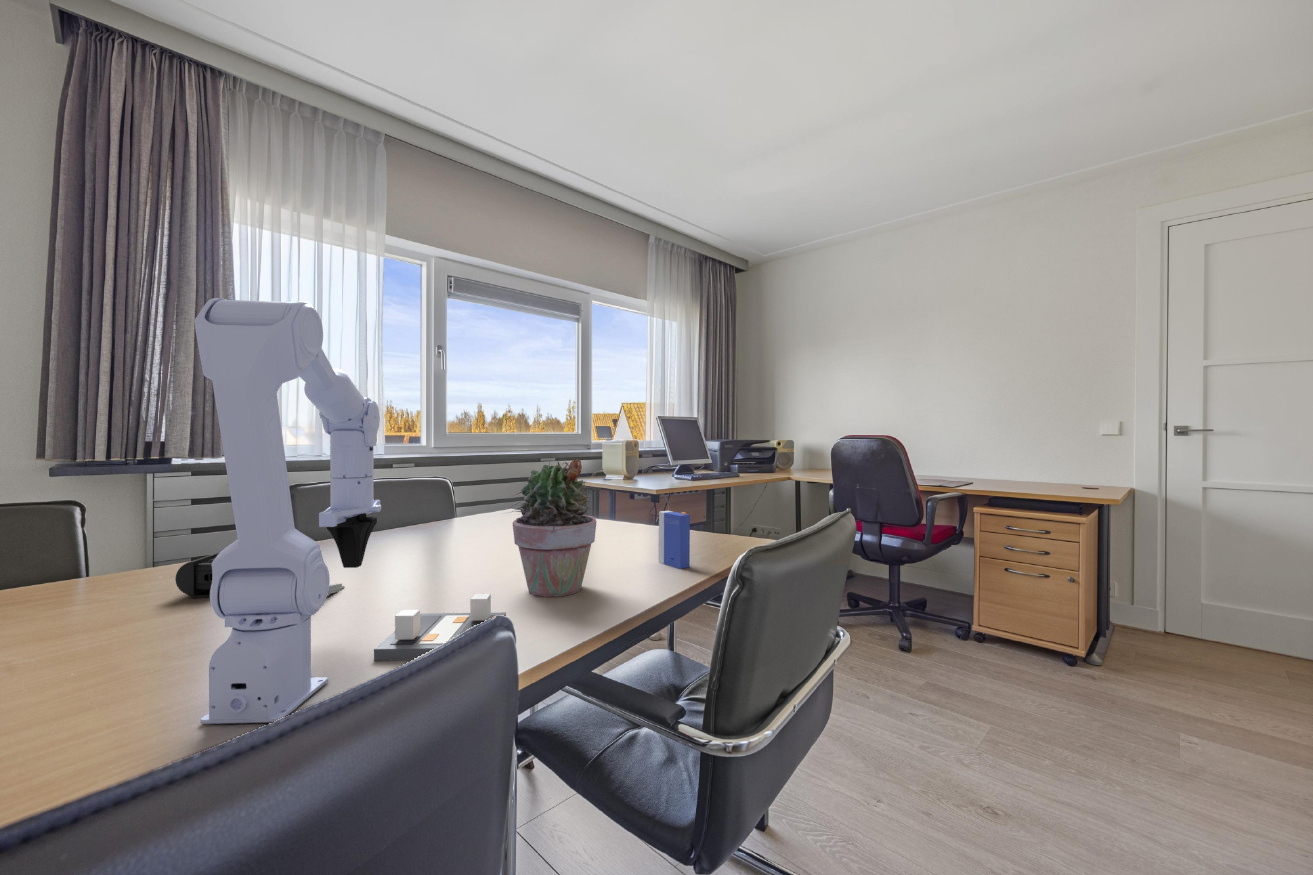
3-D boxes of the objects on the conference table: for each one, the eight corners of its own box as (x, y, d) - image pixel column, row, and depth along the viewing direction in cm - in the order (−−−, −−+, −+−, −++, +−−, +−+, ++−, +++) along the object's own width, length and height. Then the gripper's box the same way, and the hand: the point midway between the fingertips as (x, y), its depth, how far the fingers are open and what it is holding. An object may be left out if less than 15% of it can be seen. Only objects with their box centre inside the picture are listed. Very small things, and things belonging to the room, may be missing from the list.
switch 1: (413, 639, 74) (413, 615, 74) (395, 639, 74) (394, 615, 74) (419, 632, 77) (419, 609, 77) (402, 632, 77) (402, 610, 77)
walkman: (689, 567, 122) (690, 513, 122) (680, 569, 120) (680, 514, 120) (667, 560, 128) (667, 508, 128) (658, 562, 127) (658, 509, 127)
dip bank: (482, 658, 73) (482, 645, 73) (373, 660, 72) (373, 647, 72) (506, 621, 87) (506, 611, 87) (415, 623, 86) (415, 612, 86)
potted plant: (530, 572, 117) (530, 454, 116) (616, 581, 111) (616, 456, 110) (477, 597, 99) (477, 458, 99) (575, 608, 93) (576, 461, 93)
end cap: (212, 584, 107) (212, 549, 107) (252, 583, 108) (252, 549, 108) (174, 600, 97) (174, 562, 97) (218, 598, 98) (218, 561, 98)
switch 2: (486, 620, 82) (486, 598, 82) (470, 620, 82) (470, 599, 82) (490, 614, 84) (490, 594, 84) (474, 615, 84) (474, 594, 84)
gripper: (355, 481, 76) (356, 579, 76) (399, 473, 91) (399, 555, 91) (303, 481, 76) (303, 579, 76) (355, 473, 90) (355, 555, 91)
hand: (352, 566), depth 83 cm, fingers closed
